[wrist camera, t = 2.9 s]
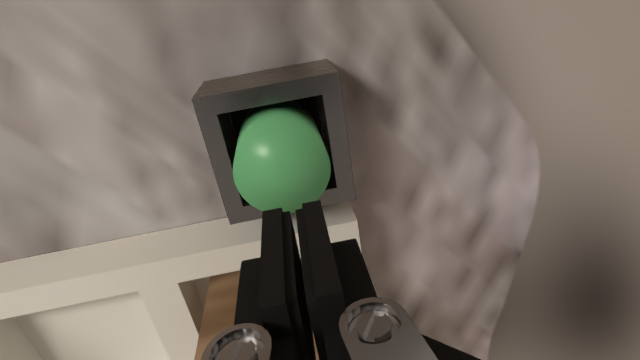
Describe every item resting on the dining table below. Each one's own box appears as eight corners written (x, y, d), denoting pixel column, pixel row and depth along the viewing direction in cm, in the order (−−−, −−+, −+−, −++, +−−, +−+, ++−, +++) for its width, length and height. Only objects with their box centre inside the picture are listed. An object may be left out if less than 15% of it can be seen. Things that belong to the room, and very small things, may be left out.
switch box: (203, 81, 19) (191, 98, 16) (326, 58, 19) (338, 71, 16) (235, 191, 21) (230, 224, 18) (342, 169, 22) (356, 199, 19)
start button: (229, 107, 18) (221, 135, 14) (311, 92, 18) (322, 116, 15) (249, 181, 20) (245, 222, 16) (323, 166, 20) (336, 204, 16)
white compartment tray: (-31, 269, 21) (-73, 308, 19) (346, 193, 22) (357, 220, 20) (59, 398, 26) (36, 445, 24) (366, 332, 27) (377, 369, 24)
